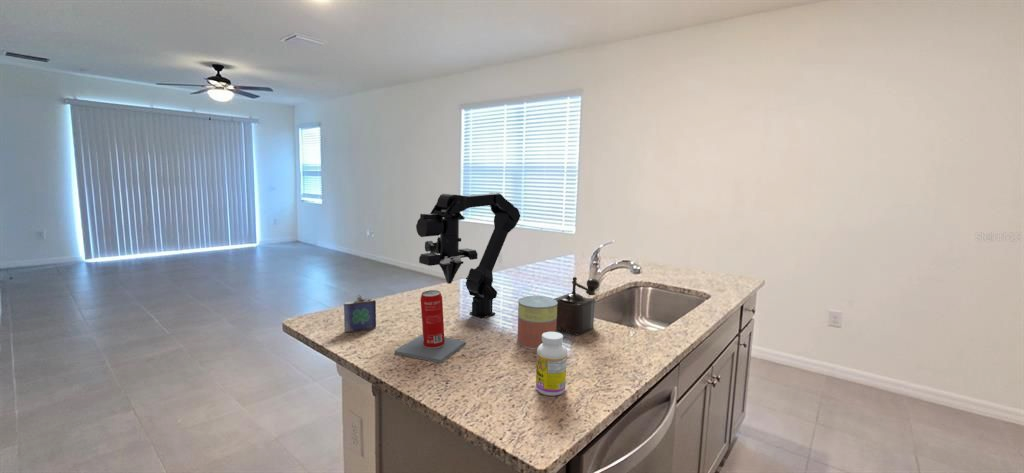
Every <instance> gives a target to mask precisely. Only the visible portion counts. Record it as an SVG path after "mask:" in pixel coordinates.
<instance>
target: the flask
mask: <svg viewBox="0 0 1024 473" xmlns="http://www.w3.org/2000/svg"><path fill="white" fill-rule="evenodd" d="M376 302H377V301H376V300H375V299H374V298H363V297H362V294H358V295H356V300H354V301H353V300H352V301H347V302H344V303H343V316H344V322H343V323H344V328H343V329H344V333H346V334H347V333H349V334H350V333H356V332H357V333H358V332H362V331H368V330H369V331H370V330H375V329H377V328H376V326H377V307H376V306H377V303H376Z"/></svg>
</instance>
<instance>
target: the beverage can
mask: <svg viewBox="0 0 1024 473" xmlns="http://www.w3.org/2000/svg"><path fill="white" fill-rule="evenodd" d="M443 305H444V304H443V296H442V294H441V291H440V290H436V289H435V290H432V289H431V290H426V291H423V292H422V293H421V296H420V309H421V310H420V311H421V312H420V313H421V328H422V334H423V345H424V346H425V347H426V348H430V349H434V348H439V347H441V346H443V344H444V342H445V340H444V337H445V325H444V310H443V309H444V308H443Z"/></svg>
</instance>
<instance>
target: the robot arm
mask: <svg viewBox="0 0 1024 473" xmlns="http://www.w3.org/2000/svg"><path fill="white" fill-rule="evenodd" d="M435 203H436V204H434V207H433V208H432V210H431V211H430V213H428V214H427V213H420V214H419V215H420V216H419V218H418V220H417V223H416V225H415V227H416V230H415V231H416V233H417V235H418V236H419V237H421V238H427V237H437V239H436V240H437V241H436V242H434V241H433V240H426V241H425V242H424V251H425V252H426V253H421V254H420V256H419V258H418V259H419V260H418V263H419V264H422V265H425V266H428V267H429V266H430V267H432V266H439V267H440V268H441V270H442V272H443V275H444V277H445V281H446V283H447V284H449V285H451V284H452V282H453V281H454V278H455V276H456V274H457V273H458V271H459V269H460V268H461V266H462V264H464V261H462V259H463V258H468V259H469V260H470V261H472V260H478V251H477V250H476V249H472V248H468V247H467V248H460V249H459V247H460V246H459V244H460V243H459V242H462V238H461V237H459V234H460V233H459V232H460V230H459V228H460V222H459V221H462V220H463V221H464V220H465V219H466V218H465V217H464V216H463V215H462V213H461V212H465V210H467V209H470V208H478V207H487V206H488V207H490V211H491V212H492V213H493V214H494V217H493V224H494V226H493V227H494V228H493V231H492V233H491V236H490V237H489V238H490V239H489V240H488V243H487V245H486V248H485V250H484V251H483V254H482V257H481V259H480V262H479V264H478V265H477V267H476V268H470V269H469V272H468V274H467V277H466V278H465V280H466V282H465V286H466V289H467V291H468V293H469V296H472V302H471V311H469V314H470V315H472V316H475V317H477V318H480V319H482V318H487V317H491V316H493V315H496V312H494V311H493V300H494V299H497V295H498V291H497V290H496V289H495V288H494V287H493V282H494V275H493V270H494V268H495V266H496V263H497V261H498V258H499V256H500V254H501V251H502V248H503V246H504V243H505V241H506V239H507V237H508V234H509V233H510V232H511V231H512V230H513V229H515V227H516V226H517V224H518V223H519V221H520V219H521V213H520V211H519V209H518V207H516V206H515V205H514V204H513V203H511V202H510V201H509V200H507V199H506V198H505V197H504V195H503V194H501V193H499V192H489V193H479V194H469V195H460V194H451V193H441V194H440V195H439V197H438V199H437V201H436V202H435Z"/></svg>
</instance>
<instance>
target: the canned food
mask: <svg viewBox="0 0 1024 473" xmlns="http://www.w3.org/2000/svg"><path fill="white" fill-rule="evenodd" d="M517 302H518V308H517V309H518V310H517V313H518V314H517V338H516V342H517V344H518V345H520V346H522V347H524V348H527V349H532V350H537V349H538V347H539V345H540V344H542V343H543V342H542V334H543V333H545V332H557V330H556V326H557V304H558V302H557V301H556V300H555V298H552V297H548V296H541V295H529V296H524V297H520V298H519V299H518V300H517Z"/></svg>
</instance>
